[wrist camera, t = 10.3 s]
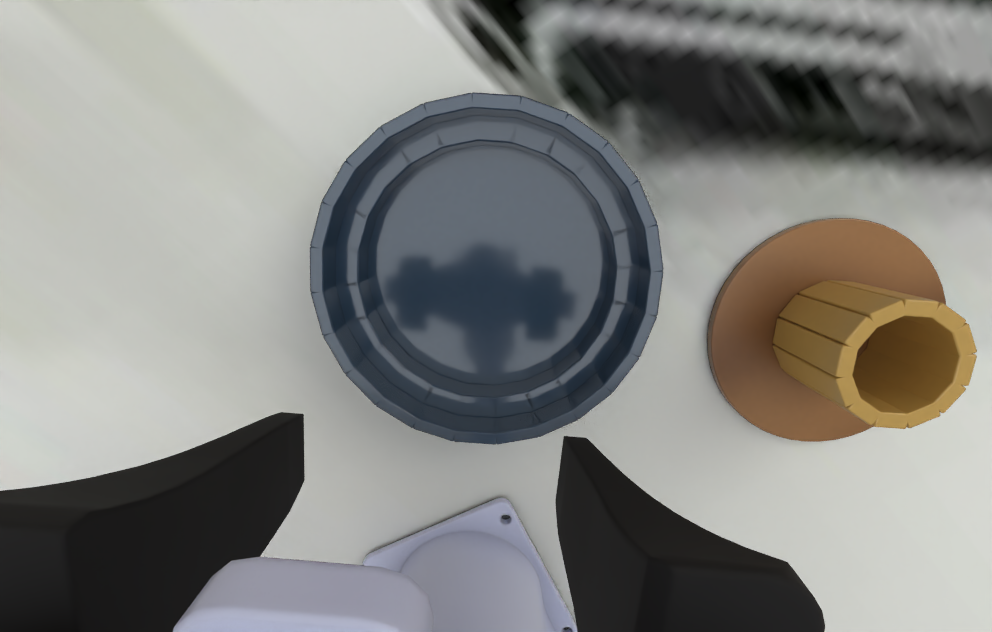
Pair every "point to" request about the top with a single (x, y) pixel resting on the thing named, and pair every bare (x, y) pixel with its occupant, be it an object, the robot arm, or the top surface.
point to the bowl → (486, 268)
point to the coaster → (766, 292)
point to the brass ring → (876, 351)
